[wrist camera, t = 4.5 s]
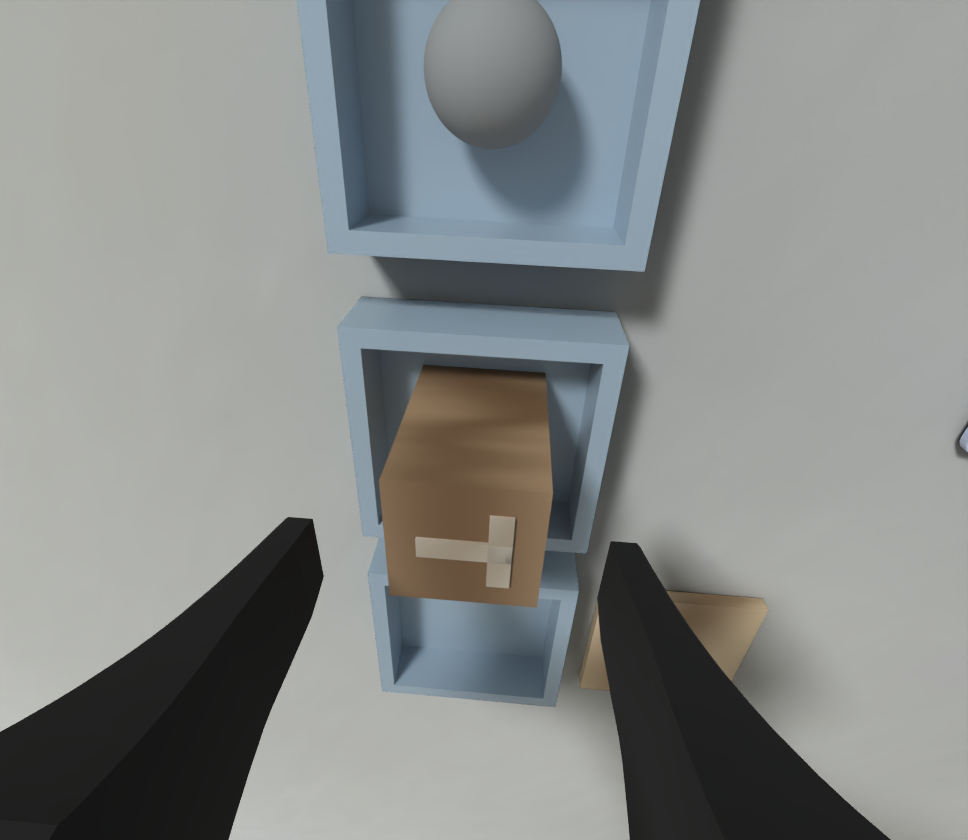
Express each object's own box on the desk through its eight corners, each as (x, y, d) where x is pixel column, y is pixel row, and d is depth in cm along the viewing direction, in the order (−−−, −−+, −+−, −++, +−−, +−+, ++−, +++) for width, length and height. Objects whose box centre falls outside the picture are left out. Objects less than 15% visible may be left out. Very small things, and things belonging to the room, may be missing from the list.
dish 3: (573, 542, 21) (578, 591, 19) (553, 656, 26) (555, 707, 24) (382, 526, 22) (367, 573, 20) (393, 642, 26) (382, 691, 24)
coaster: (762, 598, 22) (768, 610, 22) (717, 689, 26) (721, 700, 26) (600, 585, 23) (602, 596, 22) (579, 676, 27) (580, 688, 26)
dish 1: (701, -152, 11) (743, -210, 9) (628, 245, 15) (644, 271, 13) (318, -161, 11) (269, -220, 9) (355, 230, 15) (327, 253, 13)
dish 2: (616, 312, 16) (629, 345, 14) (580, 505, 20) (586, 553, 18) (361, 296, 16) (337, 327, 14) (379, 490, 21) (362, 536, 19)
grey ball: (565, -4, 12) (576, -30, 9) (551, 146, 13) (557, 159, 11) (434, -8, 12) (408, -35, 9) (435, 140, 13) (414, 152, 11)
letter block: (545, 372, 17) (553, 497, 12) (534, 469, 19) (536, 610, 14) (423, 364, 17) (377, 483, 12) (426, 461, 19) (388, 598, 14)
